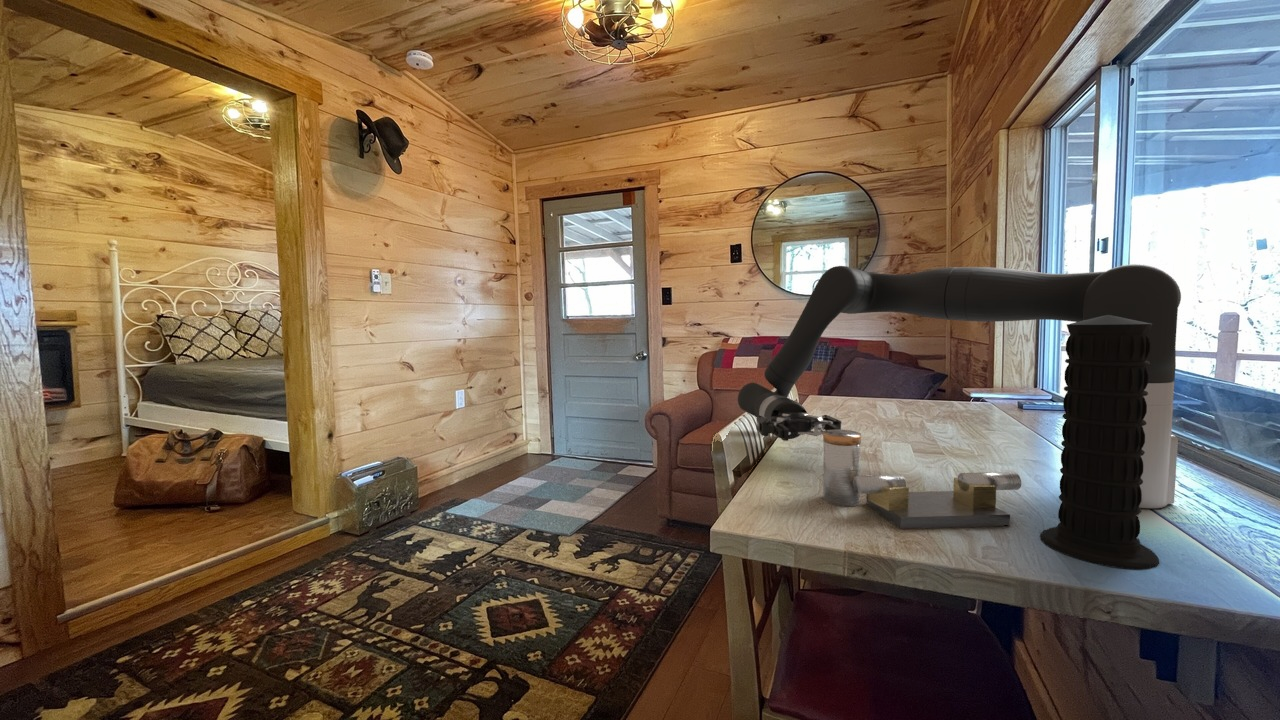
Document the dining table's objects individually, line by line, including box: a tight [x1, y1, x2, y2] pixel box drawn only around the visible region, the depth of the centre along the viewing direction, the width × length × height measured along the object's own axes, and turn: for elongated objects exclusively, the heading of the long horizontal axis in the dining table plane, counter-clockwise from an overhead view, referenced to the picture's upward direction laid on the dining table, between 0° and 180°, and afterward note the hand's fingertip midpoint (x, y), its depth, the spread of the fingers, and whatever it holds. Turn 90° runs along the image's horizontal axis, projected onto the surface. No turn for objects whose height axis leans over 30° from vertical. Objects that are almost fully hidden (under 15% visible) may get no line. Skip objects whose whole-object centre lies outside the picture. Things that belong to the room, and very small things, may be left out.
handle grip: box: [1039, 315, 1161, 570], centre depth 56 cm, size 10×26×10 cm
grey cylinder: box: [822, 429, 862, 508], centre depth 73 cm, size 5×5×10 cm
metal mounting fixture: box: [853, 471, 1022, 530], centre depth 67 cm, size 22×9×6 cm, turn 91°
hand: (811, 434), depth 84 cm, fingers open, 8 cm apart
